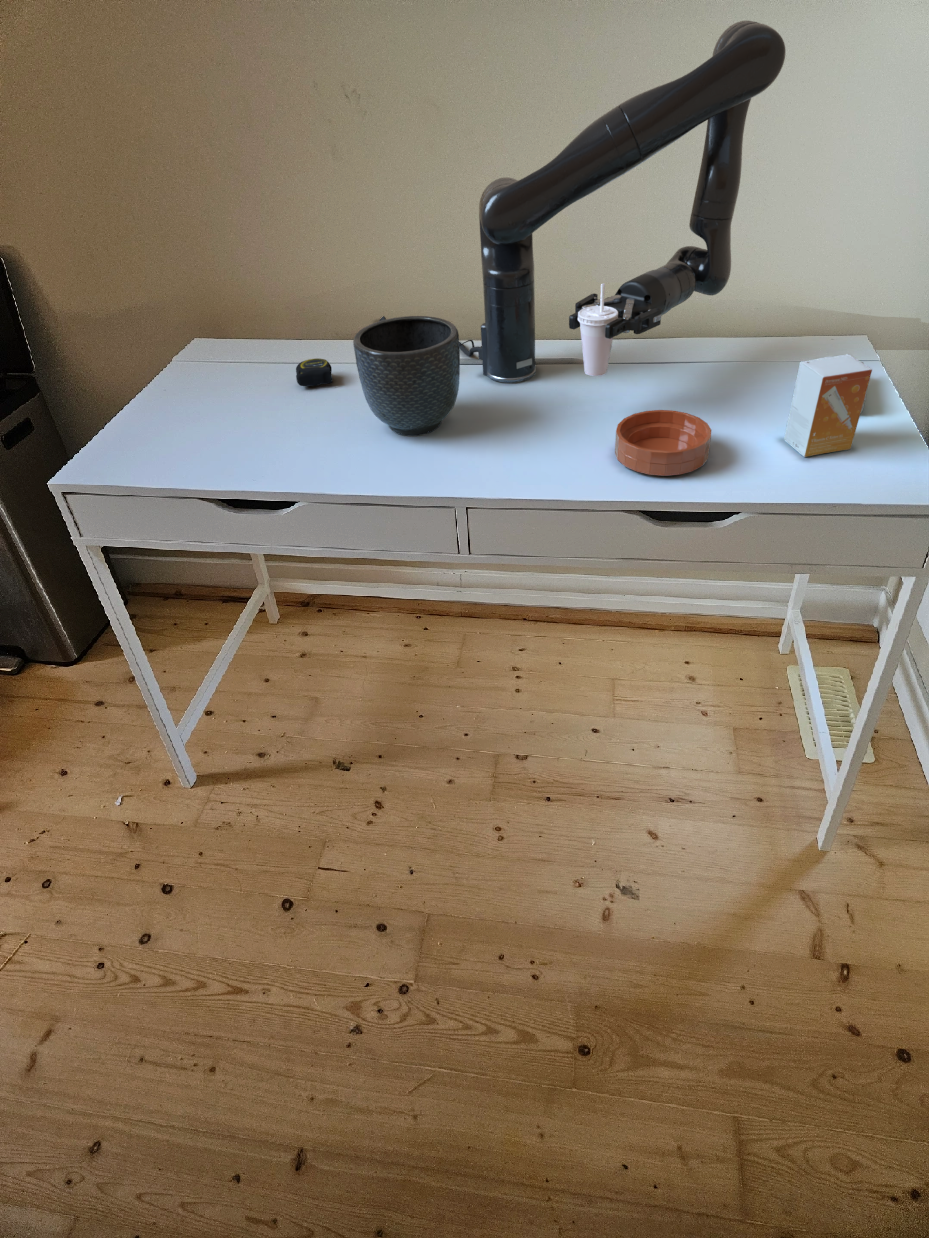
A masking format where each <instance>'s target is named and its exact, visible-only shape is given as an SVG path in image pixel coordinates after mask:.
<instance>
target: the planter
mask: <svg viewBox="0 0 929 1238" xmlns="http://www.w3.org/2000/svg"><path fill="white" fill-rule="evenodd" d="M459 336H460V335H459V330H458V328H457V326H456V325H455V324H454V323H453V322H451V321H449V320H446V319H444V318H441V317H435V316H429V315H407V316H398V317H391V318H386V320H382V321H379V320H378V321H375V322H373V323H371V324H368V325H366V326H364V327H362V328H360V329H359V331H357V332H356V334H355V335H354V337H353V340H352V345H353V350H354V351H353V352H354V356H355V363H356V369H357V373H358V377H359V382H360V386H361V388H362V393H363V396H364V399H365V401H366V403H367V405H368V407H369V409H370V410H371V412H372V414H373V415H374V416H375V417H376V418H377V419H378V420H379V421H380V422H382V423H383V424H385V425H387V426H388V428H389V429H390V430H391V431H392V432H394V433H395V434H398V435H401V436H407V437H415V436H416V437H417V436H422V435H423V436H424V435H426V434H429V433H432V432H434V431H436V430H437V429H438V428H439V427H440V426H441V424H442V422H443V420H444V419H445V418H446V417H448V415H449V414H450V413H451V411H452V409H453V408H454V407H455V404H456V401H457V399H458V395H459V390H460V377H461V376H460V375H461V355H460V353H461V352H460V351H461V350H460V348H459V342H460V337H459Z"/></svg>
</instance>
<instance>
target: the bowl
mask: <svg viewBox="0 0 929 1238" xmlns="http://www.w3.org/2000/svg"><path fill="white" fill-rule="evenodd" d="M711 440H712V428H711V427H710V425H709V424H708V422H706V421H705V420H703V419H702V418H700V417H698V416H696V415H694V414H690V413H688V412H685V411H679V410H674V409H673V410H672V409H653V410H652V409H651V410H644V411H639V412H635V413H633V414H630V415H628V416H626V417H624V418H623V419H622V420H621V421H619V422H618V424H617V425H616V430H615V443H614V455H615V458H616V460H617V461H618V462H619V463H620V464H621V465H623V467H625V468H627V469H629V470H632V471H634V472H637V473H641V474H645V475H649V476H662V477H664V476H679V475H683V474H688V473H691V472H694V471H696V470H698V469H699V468H702V467H703V466H704V465H705V463H706V462H707V461H708V460H709V455H710V454H709V453H710V447H711Z"/></svg>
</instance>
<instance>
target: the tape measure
mask: <svg viewBox="0 0 929 1238" xmlns="http://www.w3.org/2000/svg"><path fill="white" fill-rule="evenodd" d="M332 371H333V370H332V365H331V363H330V362H329V360H326V359H325V358H308V359H305V360H302V361H301V362H299V363H297V365H296V366H295V374H296V375H295V379H296V383H297V385H298V386H300V387H311V386H312V387H317V386H320V385H326V384H331V383H333V375H332V373H333V372H332Z"/></svg>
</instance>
